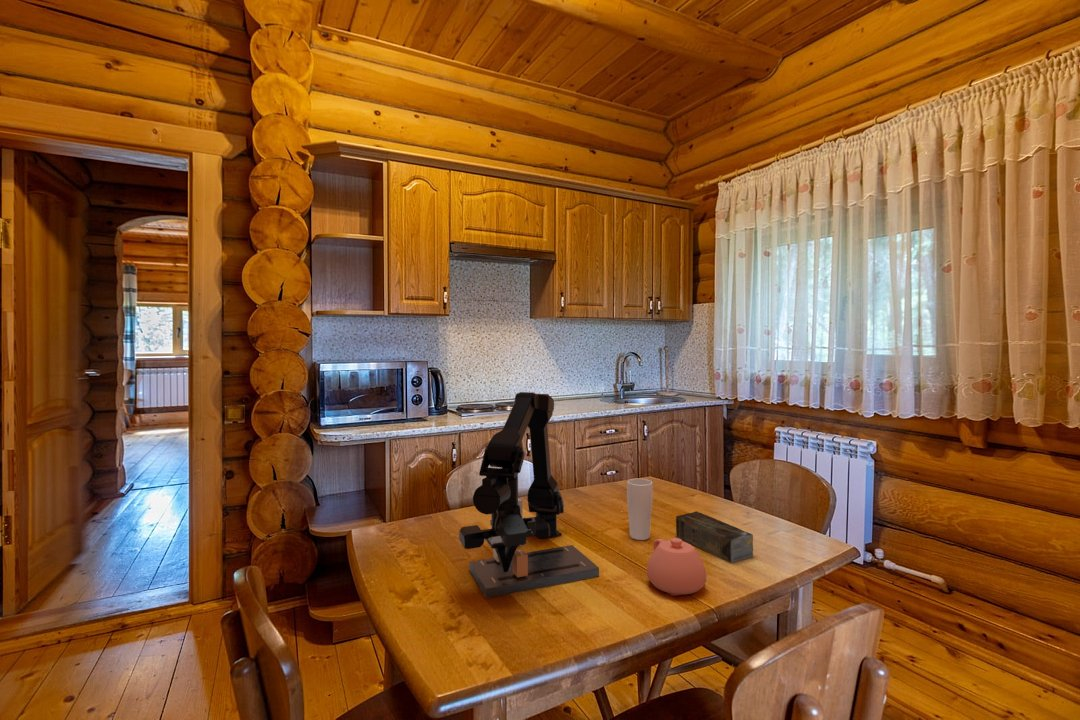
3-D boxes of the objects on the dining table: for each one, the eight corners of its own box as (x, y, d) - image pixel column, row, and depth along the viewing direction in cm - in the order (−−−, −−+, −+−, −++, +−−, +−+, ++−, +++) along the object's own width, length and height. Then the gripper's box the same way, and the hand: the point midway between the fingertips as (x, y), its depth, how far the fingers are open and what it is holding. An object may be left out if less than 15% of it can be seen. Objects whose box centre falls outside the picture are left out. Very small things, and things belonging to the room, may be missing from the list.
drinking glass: (652, 543, 135) (652, 485, 135) (626, 541, 137) (626, 484, 136) (652, 533, 142) (652, 478, 142) (627, 531, 143) (627, 477, 143)
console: (469, 570, 120) (469, 561, 120) (572, 552, 129) (572, 544, 129) (485, 598, 107) (485, 588, 107) (598, 576, 116) (598, 567, 116)
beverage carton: (730, 565, 122) (730, 537, 122) (674, 538, 139) (674, 513, 139) (754, 558, 126) (754, 531, 126) (696, 533, 143) (696, 509, 143)
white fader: (493, 557, 121) (493, 537, 121) (503, 555, 122) (503, 535, 122) (497, 562, 119) (497, 541, 118) (507, 560, 119) (507, 540, 119)
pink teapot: (670, 605, 103) (670, 555, 103) (631, 576, 116) (631, 531, 116) (719, 593, 108) (719, 544, 108) (675, 566, 121) (676, 523, 121)
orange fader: (512, 571, 114) (512, 550, 113) (523, 569, 115) (522, 548, 114) (517, 577, 111) (517, 555, 111) (527, 575, 112) (527, 553, 112)
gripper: (470, 516, 100) (471, 596, 101) (560, 504, 107) (560, 579, 107) (458, 500, 110) (459, 572, 111) (540, 490, 117) (540, 558, 118)
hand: (505, 571), depth 112 cm, fingers closed
